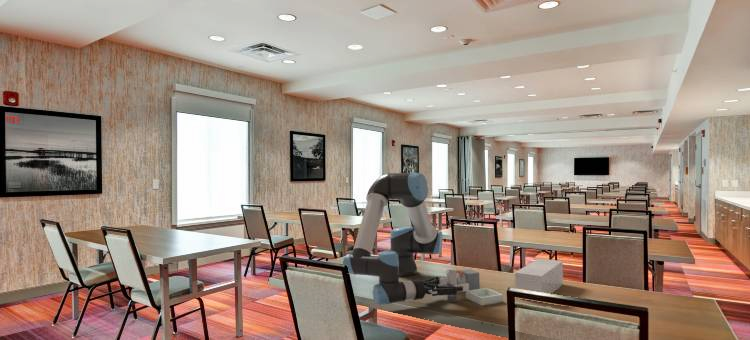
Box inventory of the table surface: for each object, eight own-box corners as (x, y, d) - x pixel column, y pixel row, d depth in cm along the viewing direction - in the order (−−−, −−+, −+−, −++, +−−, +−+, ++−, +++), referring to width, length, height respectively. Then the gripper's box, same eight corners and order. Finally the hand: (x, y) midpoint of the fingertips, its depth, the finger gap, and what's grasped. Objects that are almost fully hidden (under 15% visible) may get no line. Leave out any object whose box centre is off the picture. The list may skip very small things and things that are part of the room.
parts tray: (466, 298, 178) (465, 291, 178) (486, 295, 182) (486, 288, 182) (481, 305, 169) (481, 298, 168) (503, 302, 172) (503, 294, 172)
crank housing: (454, 289, 192) (454, 269, 192) (470, 286, 195) (469, 267, 195) (463, 293, 185) (463, 272, 185) (479, 291, 188) (479, 270, 188)
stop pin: (445, 300, 176) (444, 270, 176) (453, 298, 178) (453, 269, 178) (450, 302, 173) (450, 272, 173) (459, 301, 174) (458, 271, 174)
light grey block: (538, 281, 203) (538, 258, 203) (562, 284, 197) (562, 261, 197) (515, 298, 178) (514, 272, 178) (542, 303, 171) (541, 276, 171)
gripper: (399, 292, 179) (445, 285, 188) (426, 308, 158) (477, 300, 166) (399, 273, 179) (445, 268, 188) (426, 288, 158) (477, 281, 166)
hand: (460, 283), depth 177 cm, fingers open, 10 cm apart
